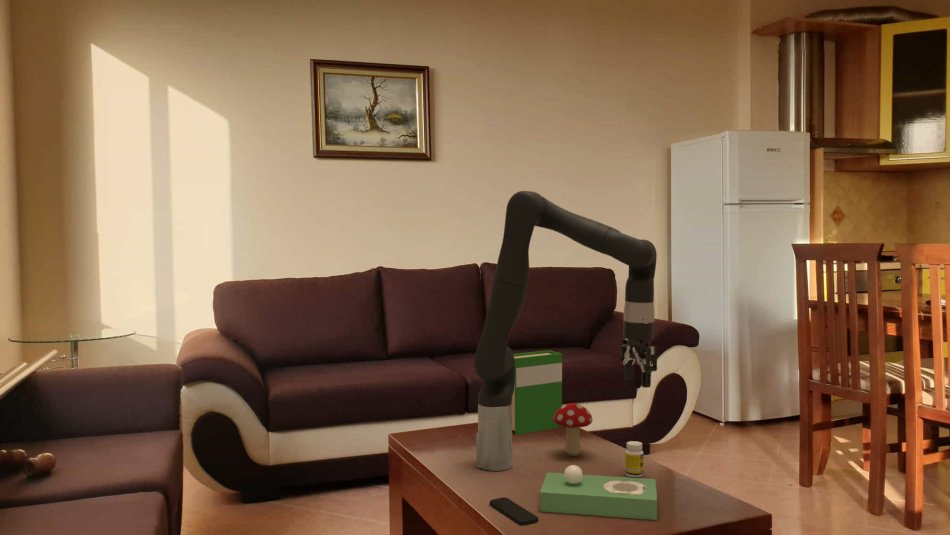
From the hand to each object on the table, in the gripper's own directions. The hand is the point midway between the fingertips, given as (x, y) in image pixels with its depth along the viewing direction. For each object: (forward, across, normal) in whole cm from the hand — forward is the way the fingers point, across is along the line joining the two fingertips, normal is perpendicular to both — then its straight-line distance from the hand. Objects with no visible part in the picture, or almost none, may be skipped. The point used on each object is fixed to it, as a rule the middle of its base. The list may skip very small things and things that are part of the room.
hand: (637, 383), depth 190 cm
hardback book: (+26, -56, -5) cm, 62 cm away
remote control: (+27, +9, -36) cm, 46 cm away
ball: (+19, +7, -21) cm, 29 cm away
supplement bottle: (+26, -6, +3) cm, 27 cm away
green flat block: (+26, +10, -15) cm, 32 cm away
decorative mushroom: (+26, -25, -5) cm, 37 cm away
